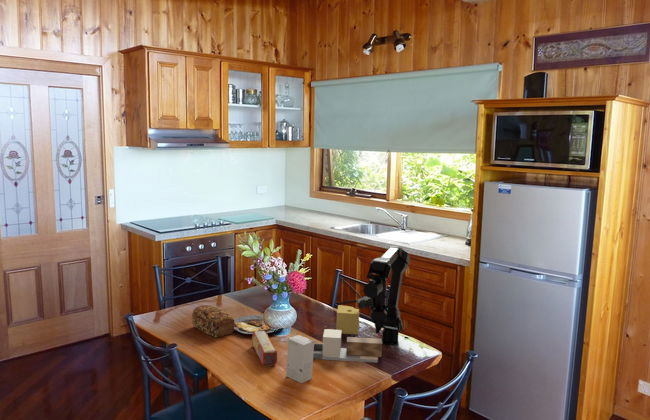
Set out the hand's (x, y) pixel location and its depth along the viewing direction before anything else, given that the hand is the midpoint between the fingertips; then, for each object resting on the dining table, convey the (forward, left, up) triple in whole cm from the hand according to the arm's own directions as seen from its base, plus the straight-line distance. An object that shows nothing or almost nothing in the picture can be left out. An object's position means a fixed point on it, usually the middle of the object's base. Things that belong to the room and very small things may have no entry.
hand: (377, 328), depth 215 cm
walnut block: (+5, 0, -11) cm, 12 cm away
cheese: (+12, -28, -12) cm, 33 cm away
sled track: (+13, 0, -12) cm, 17 cm away
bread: (+72, -19, -12) cm, 76 cm away
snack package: (+45, +4, -12) cm, 46 cm away
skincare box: (+28, +22, -12) cm, 38 cm away
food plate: (+53, -25, -12) cm, 60 cm away
